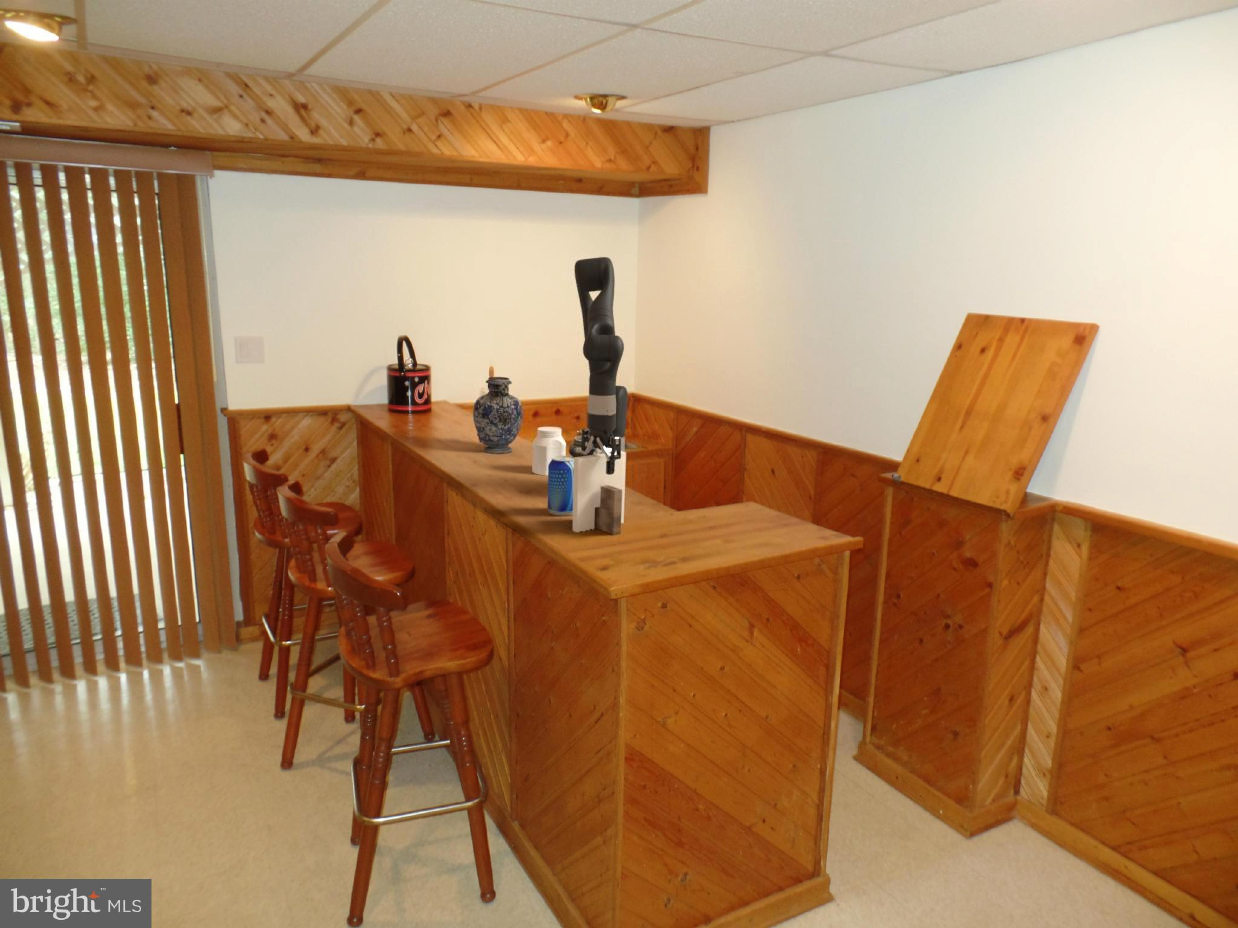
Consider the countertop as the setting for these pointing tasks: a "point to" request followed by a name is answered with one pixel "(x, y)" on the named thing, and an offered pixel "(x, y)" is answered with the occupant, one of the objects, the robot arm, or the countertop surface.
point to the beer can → (561, 485)
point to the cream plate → (594, 487)
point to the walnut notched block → (609, 510)
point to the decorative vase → (497, 416)
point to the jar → (547, 448)
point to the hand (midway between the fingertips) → (600, 471)
